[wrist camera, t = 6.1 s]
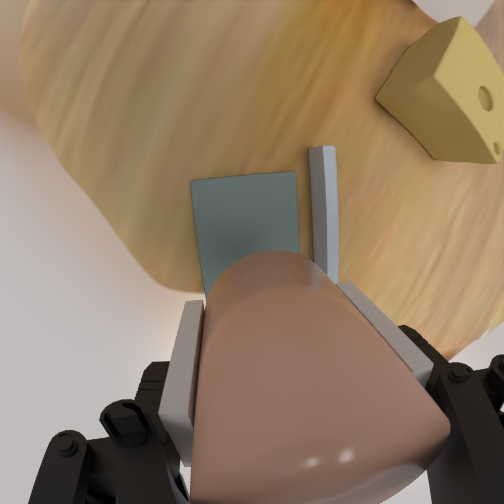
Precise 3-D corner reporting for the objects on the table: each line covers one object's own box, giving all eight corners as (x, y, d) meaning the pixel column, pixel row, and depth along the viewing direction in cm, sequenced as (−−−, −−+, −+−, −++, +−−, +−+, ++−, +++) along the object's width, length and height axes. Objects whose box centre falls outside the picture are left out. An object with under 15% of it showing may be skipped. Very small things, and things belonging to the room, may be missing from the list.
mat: (191, 181, 24) (190, 181, 23) (293, 171, 24) (295, 171, 24) (208, 306, 27) (207, 309, 27) (299, 296, 28) (300, 299, 27)
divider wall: (308, 149, 24) (322, 145, 20) (318, 148, 24) (334, 145, 20) (313, 311, 28) (325, 331, 25) (322, 310, 29) (335, 330, 25)
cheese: (463, 103, 23) (522, 96, 14) (432, 166, 25) (499, 172, 16) (406, 40, 21) (461, 11, 11) (366, 99, 23) (428, 75, 13)
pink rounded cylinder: (195, 258, 12) (147, 445, 3) (334, 243, 12) (488, 366, 4) (215, 370, 13) (218, 538, 5) (330, 354, 14) (405, 497, 5)
